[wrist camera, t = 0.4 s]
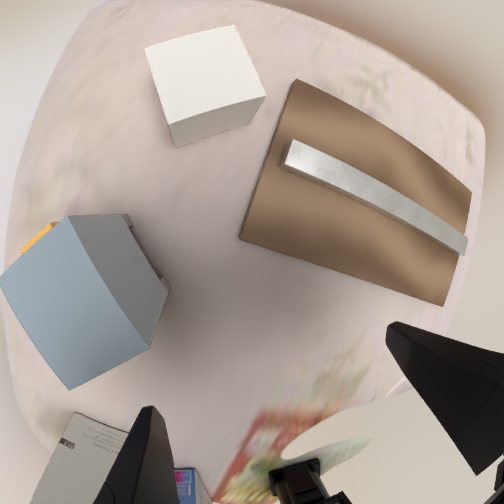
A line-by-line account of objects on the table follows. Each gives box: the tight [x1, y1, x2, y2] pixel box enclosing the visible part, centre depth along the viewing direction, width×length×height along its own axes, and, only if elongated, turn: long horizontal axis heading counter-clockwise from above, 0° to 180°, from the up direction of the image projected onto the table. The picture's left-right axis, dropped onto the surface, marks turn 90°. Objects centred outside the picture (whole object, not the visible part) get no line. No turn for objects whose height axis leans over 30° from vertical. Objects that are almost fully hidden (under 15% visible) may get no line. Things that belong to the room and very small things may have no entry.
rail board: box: [239, 79, 472, 307], centre depth 22 cm, size 14×24×2 cm, turn 71°
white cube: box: [144, 25, 266, 148], centre depth 17 cm, size 6×6×6 cm
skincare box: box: [30, 413, 128, 504], centre depth 14 cm, size 8×6×15 cm
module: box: [0, 214, 170, 391], centre depth 15 cm, size 7×6×10 cm
